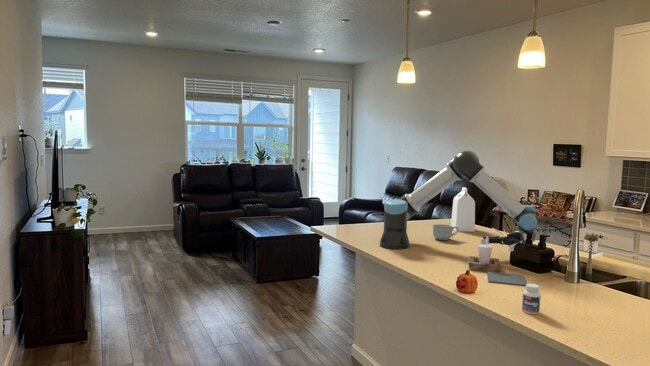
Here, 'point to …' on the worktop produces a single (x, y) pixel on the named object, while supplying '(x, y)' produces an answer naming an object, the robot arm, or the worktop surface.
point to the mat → (506, 278)
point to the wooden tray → (484, 265)
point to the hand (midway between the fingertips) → (495, 245)
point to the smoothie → (484, 252)
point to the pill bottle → (531, 299)
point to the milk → (463, 212)
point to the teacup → (443, 231)
